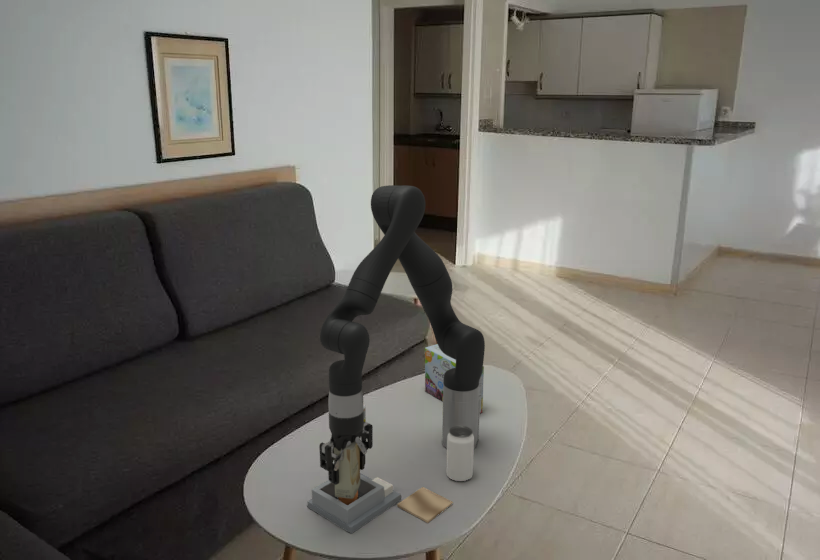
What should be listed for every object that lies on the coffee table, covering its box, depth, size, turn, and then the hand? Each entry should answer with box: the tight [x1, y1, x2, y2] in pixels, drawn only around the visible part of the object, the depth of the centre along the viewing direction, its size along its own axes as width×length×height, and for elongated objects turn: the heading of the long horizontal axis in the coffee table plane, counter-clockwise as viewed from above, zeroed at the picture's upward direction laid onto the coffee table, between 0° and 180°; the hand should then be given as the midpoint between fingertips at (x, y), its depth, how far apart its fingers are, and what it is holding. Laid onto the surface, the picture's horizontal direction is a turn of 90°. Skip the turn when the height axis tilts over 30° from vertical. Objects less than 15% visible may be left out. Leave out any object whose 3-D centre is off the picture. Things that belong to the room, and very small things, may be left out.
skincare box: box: [333, 442, 361, 499], centre depth 147 cm, size 6×4×12 cm
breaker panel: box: [307, 472, 402, 534], centre depth 151 cm, size 16×14×5 cm
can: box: [446, 426, 475, 482], centre depth 161 cm, size 6×6×12 cm
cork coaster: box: [396, 486, 454, 524], centre depth 151 cm, size 9×9×1 cm
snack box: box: [424, 343, 485, 414], centre depth 198 cm, size 21×6×15 cm, turn 38°
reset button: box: [337, 491, 359, 505], centre depth 149 cm, size 4×4×3 cm
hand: (347, 475), depth 148 cm, fingers closed on skincare box, 7 cm apart
